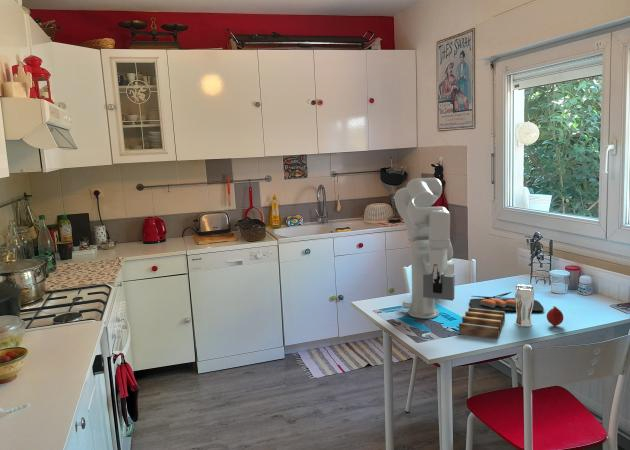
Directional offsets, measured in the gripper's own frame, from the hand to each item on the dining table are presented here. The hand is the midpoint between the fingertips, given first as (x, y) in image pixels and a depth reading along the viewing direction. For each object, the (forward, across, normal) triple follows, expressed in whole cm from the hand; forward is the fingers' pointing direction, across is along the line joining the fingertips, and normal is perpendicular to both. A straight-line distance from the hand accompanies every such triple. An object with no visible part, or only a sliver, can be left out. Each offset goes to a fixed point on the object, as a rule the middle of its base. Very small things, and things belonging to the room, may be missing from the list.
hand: (438, 290), depth 194 cm
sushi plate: (+18, -46, +18) cm, 53 cm away
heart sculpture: (+18, -48, -9) cm, 52 cm away
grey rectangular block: (+3, 0, 0) cm, 3 cm away
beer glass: (+17, -20, +28) cm, 39 cm away
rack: (+17, -11, +14) cm, 25 cm away
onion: (+17, -22, +40) cm, 48 cm away
